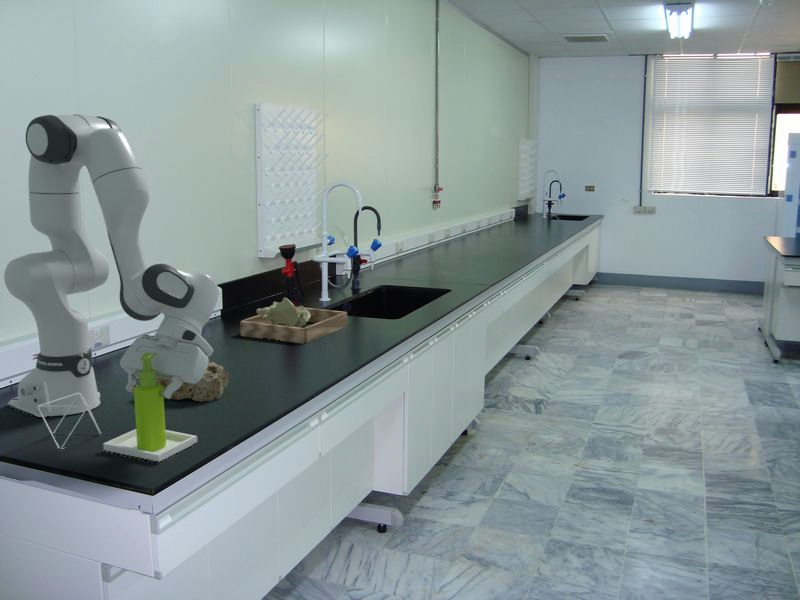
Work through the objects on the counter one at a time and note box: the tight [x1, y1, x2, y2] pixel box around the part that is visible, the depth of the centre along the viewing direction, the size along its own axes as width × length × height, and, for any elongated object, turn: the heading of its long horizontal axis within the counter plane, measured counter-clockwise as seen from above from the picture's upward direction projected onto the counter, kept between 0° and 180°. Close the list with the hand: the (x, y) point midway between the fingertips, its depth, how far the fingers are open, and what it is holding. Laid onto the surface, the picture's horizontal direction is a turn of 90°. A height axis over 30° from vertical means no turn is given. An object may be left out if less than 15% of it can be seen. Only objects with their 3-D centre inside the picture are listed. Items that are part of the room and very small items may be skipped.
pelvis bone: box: [256, 297, 311, 328], centre depth 273 cm, size 20×14×15 cm
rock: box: [156, 361, 230, 403], centre depth 200 cm, size 21×14×10 cm
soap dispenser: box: [133, 353, 166, 451], centre depth 162 cm, size 6×7×20 cm
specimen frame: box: [240, 306, 348, 345], centre depth 272 cm, size 26×30×5 cm
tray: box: [103, 428, 198, 462], centre depth 164 cm, size 15×12×2 cm
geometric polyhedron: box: [37, 393, 102, 450], centre depth 168 cm, size 12×11×9 cm
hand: (146, 393), depth 162 cm, fingers open, 8 cm apart
